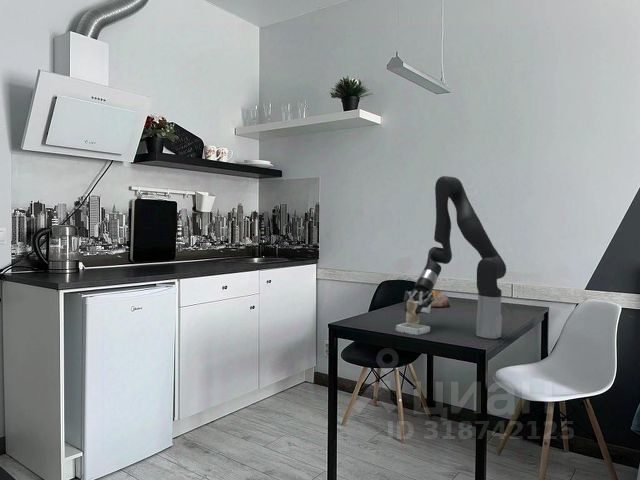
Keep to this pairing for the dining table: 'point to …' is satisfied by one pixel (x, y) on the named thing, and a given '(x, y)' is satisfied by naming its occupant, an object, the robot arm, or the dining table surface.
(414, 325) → the tray
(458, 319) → the dining table surface
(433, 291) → the bread
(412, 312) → the birch block
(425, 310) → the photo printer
